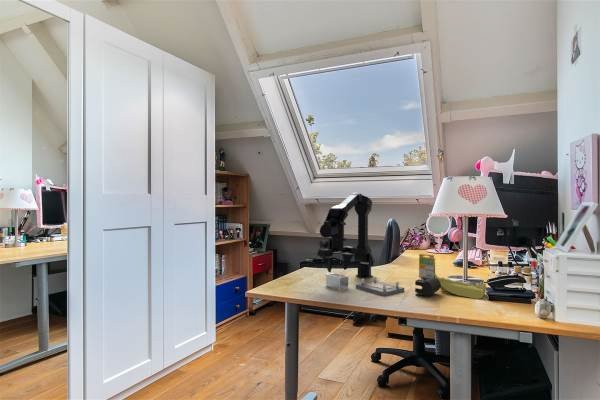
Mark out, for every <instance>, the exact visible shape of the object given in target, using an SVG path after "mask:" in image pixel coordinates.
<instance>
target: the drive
mask: <svg viewBox="0 0 600 400" xmlns="http://www.w3.org/2000/svg"><path fill="white" fill-rule="evenodd" d="M325 274H326V275H325V277H326V278H325V286H326V287H328V288H331V289H334V290H338V291H342V290H347V289H349V276H348V275H345V274H340V273H336V272H332V273H331V272H329V273H325Z"/></svg>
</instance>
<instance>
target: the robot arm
mask: <svg viewBox="0 0 600 400" xmlns="http://www.w3.org/2000/svg"><path fill="white" fill-rule="evenodd" d="M372 206H373V200H372V199H371V198H370V197H368V196H366V195H363V194H362V193H359V192H352V193H350V194H349V196H348V197H346V198H345V199H344V200H343V201H342V202H341V203H340V204H337V205H334V206H332V207H330V208H329V210H328V213H327V215H326V218H325V221H323V224H322V225H321V226H320V227H319V228H320V229H319V233H320V235H321V237H323V238H324V239H325V238H326V239H327V238H328V241H326V240H320V241H319V249H318V250H317V256H318V257H320V258H321V259H322V260H323V261H324V263H325V266H326V269H327V271H328V273H331V272H332V268H333V262H334V257H333V255H336V254H341V255H342V258H343V259H342V261H343V263H342V264H343V270H344V271H346V270H347V269H348V266H349V264H350V262H351V260H352V259H354V265H357V274H356V275H355V277H358V278H361V279H369V278H374V275H372V266H374V265H375V258H374V257H373V255H372V249H371V247H370V245H369V214H370V213H371V212H372ZM353 208H354V211H355V213H356V214H357V245H356V246H350V245H347V246H346V245H345V241H347V238H345V226H346V225H347V223H346V222H345V220H346V219H347V217H348V216H349V212H350V210H352V209H353Z"/></svg>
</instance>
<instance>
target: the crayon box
mask: <svg viewBox="0 0 600 400" xmlns="http://www.w3.org/2000/svg"><path fill="white" fill-rule="evenodd" d="M418 256H419V257H418V277H419V278H423V277H425V278H432V277H435V275H434V274H436V258H435V255H434V254H424V253H420V254H419V255H418ZM435 278H436V277H435Z"/></svg>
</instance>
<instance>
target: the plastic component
mask: <svg viewBox="0 0 600 400" xmlns="http://www.w3.org/2000/svg"><path fill="white" fill-rule="evenodd" d="M434 275H435V278H437V279H438V280H439V281H440V284H441V287H440V289H439V290H441V291H442V292H449V293H450V294H453V295H456V296H458V297H459V296H460V297H465V298H468V297H469V299H474V298H475V299H474V300H480V299H482V298H483V297H484V295H485V294H486V290H487V285H486V282H483V283H482V284H483V285H482V286H479V285H475V284H474V285H473V284H471V283H470V284H468V283H463V282H458V281H453V280H452V279H447V278H445V277H438V276H437V273H435V274H434Z"/></svg>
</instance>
